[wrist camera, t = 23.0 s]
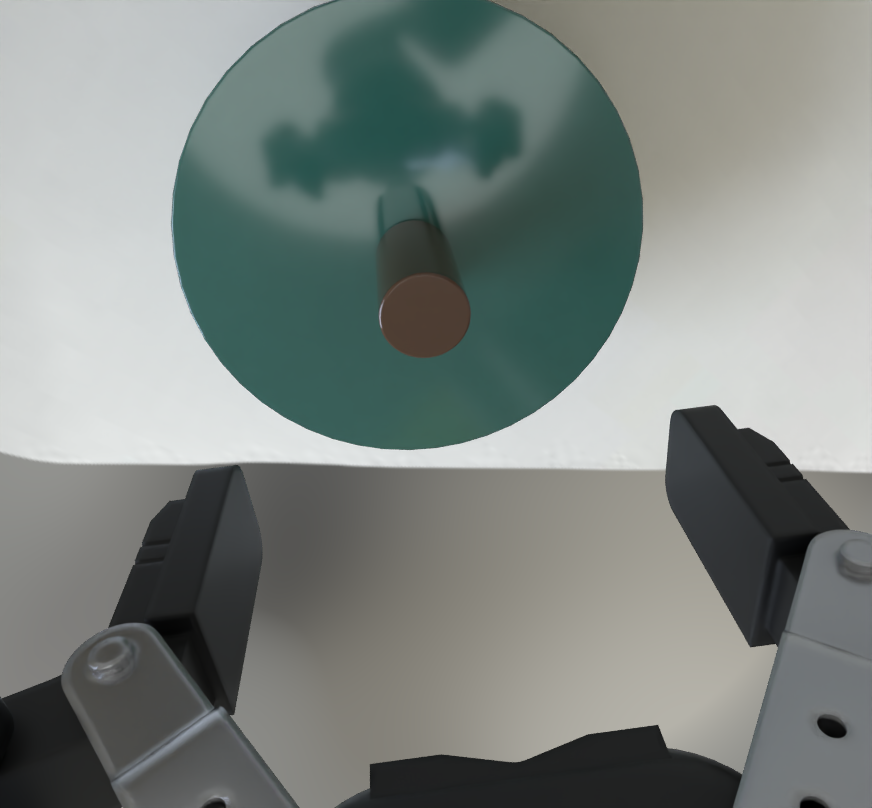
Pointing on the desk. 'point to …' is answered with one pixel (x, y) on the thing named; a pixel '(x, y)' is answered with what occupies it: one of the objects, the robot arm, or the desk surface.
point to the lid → (407, 220)
